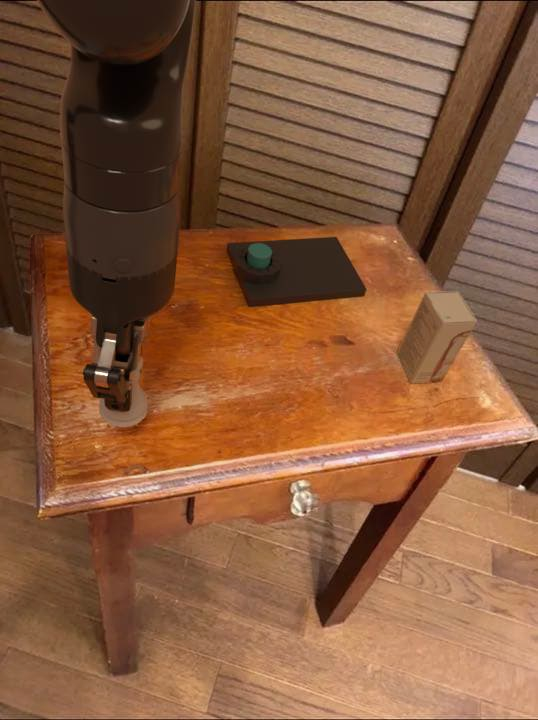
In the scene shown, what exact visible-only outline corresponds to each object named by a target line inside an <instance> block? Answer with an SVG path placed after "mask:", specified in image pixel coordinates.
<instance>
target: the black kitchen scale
mask: <svg viewBox="0 0 538 720" xmlns="http://www.w3.org/2000/svg"><path fill="white" fill-rule="evenodd" d="M254 243H262V244H265V245H267V246H269V247H270V248H271V250H272V255H271V260H270V264H269V266H268V267H266V268H260V269H259V268H255V267H252V266H250V265H249V264H248V263H247V254H248V248H249V246H250V245H252V244H254ZM226 255H227V256H228V259H229V262H230V264H231V266H232V269H233V272H234V274H235V277H236V279H237V282H238V284H239V287H240V290H241V292H242V295H243V297H244V298H243V299H244V300H245V303H246V305H247V307H248V308H258V307H268V306H278V305H280V306H281V305H289V304H290V305H291V304H301V303H311V302H321V301H332V300H343V299H352V298H362V297H365V295H366V293H367V287H366V285H365V283H364V282H363V281H362V280H363V279H361V276H360V275H359V274H358V271H357V269H356V268H355V267H354V264H353V263H352V261H351V260H350V258H349V256H348V254H347V252H346V251H345V249H344V247H343V245H342V244H341V242H340V240H339V239H338V237H337V236H327V237H309V238H294V239H291V238H290V239H276V240H275V239H273V240H259V241H258V240H257V241H256V240H255V241H241V242H239V241H238V242H227V245H226Z"/></svg>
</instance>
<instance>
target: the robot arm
mask: <svg viewBox="0 0 538 720" xmlns="http://www.w3.org/2000/svg"><path fill="white" fill-rule="evenodd" d="M36 2H37V3H38V5H39V7H40V8H41V10H42V12H43V13H44V15H45V16H46V18H47V19H48V20H49V22H50V23H51V25H52V26H53V27H54V29H55V30H56V31H57V32H58V33H59V35H61V36H62V37H63V38H64V39H65V40H66V41H67V42H68V43H69V44H70V64H69V69H68V74H67V78H66V81H65V84H64V87H63V90H62V93H61V99H60V104H59V136H60V137H59V138H60V147H61V148H60V149H61V158H62V170H63V179H64V180H63V183H64V185H63V197H62V217H63V227H64V228H63V230H64V238H65V249H66V259H67V260H66V261H67V270H68V281H69V288H70V291H71V294H72V296H73V297H74V299H75V301H76V302H77V303H78V304H79V305H80V306H81V307H82V308H83V309H84V310H86V311H87V312H88V313H89V314H90V315H91V320H90V321H91V322H90V333H91V334H92V336H93V339H94V340H93V362H91V363H86V364H85V367H84V368H83V371H82V376H83V381H84V383H85V384H86V386H87V389H88V390H89V392H90V394H91V395H92V397H93V398H95V399H100V398H103V399H104V403H105V407H106V408H107V409H108V410H113V411H119V412H128V411H129V410H130V408H131V404H132V386H133V371H135V370H136V369H137V367H138V364H139V361H140V357H142V358H143V348H144V346H145V345H146V343H147V338H146V337H147V336H148V334H149V331H150V327H151V323H152V316H153V315H155V314H156V313H158V312H160V311H161V310H163V308H165V307H166V306H167V305H168V303H169V302H170V301H171V299H172V297H173V295H174V292H175V288H176V274H177V263H178V251H179V239H180V226H181V202H180V180H181V179H180V178H181V165H182V163H181V162H182V153H183V139H184V138H183V136H184V135H183V134H184V132H183V99H184V87H185V81H186V73H187V70H188V69H187V67H188V61H189V55H190V48H191V42H192V35H193V28H194V21H195V20H194V18H195V13H196V3H197V0H36ZM131 352H132V353H131ZM129 353H130V354H129ZM142 368H143V367H142ZM142 368H141V370H140V376H139V378H140V377H141V374H142V370H143V369H142ZM124 372H125V374H123V373H124Z"/></svg>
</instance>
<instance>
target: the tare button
mask: <svg viewBox="0 0 538 720" xmlns="http://www.w3.org/2000/svg"><path fill="white" fill-rule="evenodd" d="M271 255H272V250H271V248H270V247H269V246H267V245H265V244H262V243H254V244H252V245H250V246H249V248H248V254H247V263H248V264H249V265H250V266H252V267H255V268H259V269H260V268H266V267H268V266H269V264H270V260H271Z"/></svg>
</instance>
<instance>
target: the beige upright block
mask: <svg viewBox="0 0 538 720" xmlns="http://www.w3.org/2000/svg"><path fill="white" fill-rule="evenodd" d="M477 322H478V320H477V318H476V316H475V315H474V313H473V312H472V309H471V308H470V307H469V305H468V303H467V302H466V300H465V298H464V297H463V296H462V295H461V293H460V292H459V291H425V292H424V294H423V297H422V299H421V300H420V303H419V304H418V307H417V309H416V311H415V314H414V315H413V318H412V319H411V322H410V324H409V326H408V328H407V330H406V333H405V335H404V337H403V339H402V341H401V343H400V345H399V347H398V349H397V351H396V355H397V358H398V361H399V362H400V364H401V367H402V368H403V371H404V373H405V374H406V377H407V378H408V380H409V382H410V384H428V383H429V384H430V383H441V382H443V381H444V379H445V378H446V376H447V374H448V373H449V371H450V369H451V367H452V365H453V363H454V362H455V360H456V358H457V357H458V354H459V353H460V351H461V350H462V348H463V346H464V345H465V343H466V341H467V340H468V338H469V336H470V335H471V333H472V331H473V329H474V328H475V326H476V324H477Z"/></svg>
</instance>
